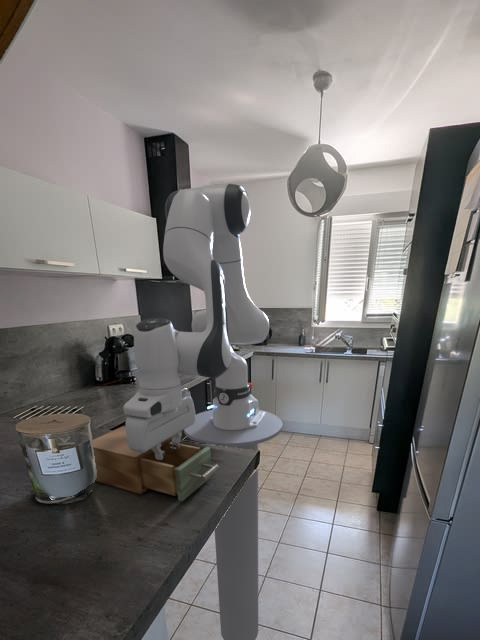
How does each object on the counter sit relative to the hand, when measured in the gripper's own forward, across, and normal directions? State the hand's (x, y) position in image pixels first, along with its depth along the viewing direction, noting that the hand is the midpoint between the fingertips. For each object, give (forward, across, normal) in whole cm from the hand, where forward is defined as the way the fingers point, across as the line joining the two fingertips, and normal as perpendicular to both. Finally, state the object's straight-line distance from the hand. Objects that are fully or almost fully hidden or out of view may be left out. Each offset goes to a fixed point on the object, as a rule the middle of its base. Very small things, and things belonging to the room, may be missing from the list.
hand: (168, 454), depth 83 cm
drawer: (+7, 0, +2) cm, 8 cm away
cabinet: (+8, 0, -12) cm, 14 cm away
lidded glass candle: (+8, +14, -22) cm, 27 cm away
